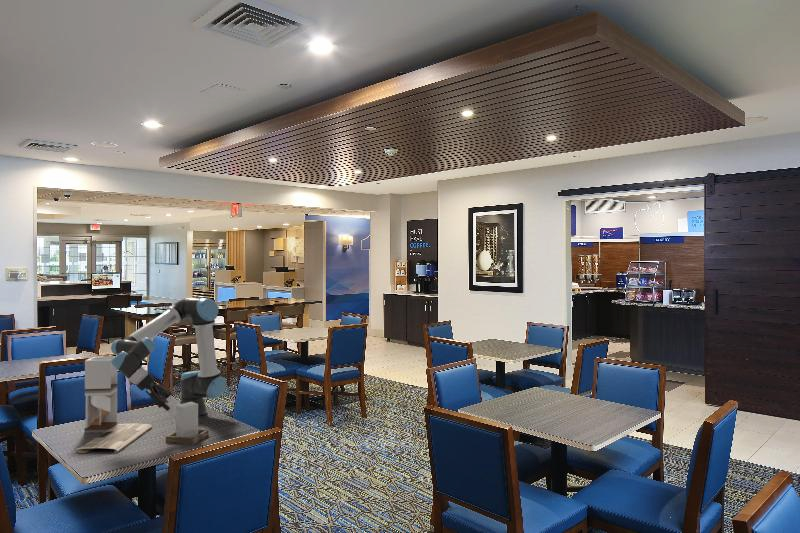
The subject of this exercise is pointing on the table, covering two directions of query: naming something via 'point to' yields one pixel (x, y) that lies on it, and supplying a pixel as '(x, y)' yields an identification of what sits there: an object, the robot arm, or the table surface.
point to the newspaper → (116, 437)
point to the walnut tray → (185, 440)
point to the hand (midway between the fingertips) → (176, 410)
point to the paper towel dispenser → (100, 394)
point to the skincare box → (187, 420)
